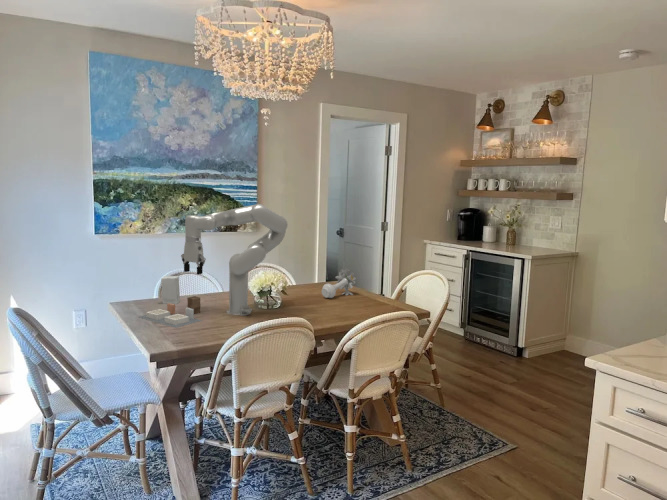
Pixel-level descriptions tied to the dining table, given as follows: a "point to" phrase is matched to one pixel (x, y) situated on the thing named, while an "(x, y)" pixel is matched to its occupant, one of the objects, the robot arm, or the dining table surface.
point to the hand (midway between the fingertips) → (193, 272)
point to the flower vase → (339, 284)
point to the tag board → (168, 318)
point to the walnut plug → (194, 304)
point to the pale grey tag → (190, 313)
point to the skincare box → (170, 289)
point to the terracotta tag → (171, 308)
